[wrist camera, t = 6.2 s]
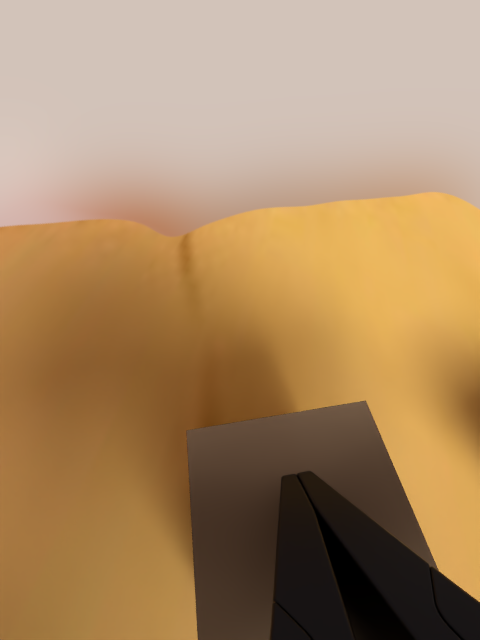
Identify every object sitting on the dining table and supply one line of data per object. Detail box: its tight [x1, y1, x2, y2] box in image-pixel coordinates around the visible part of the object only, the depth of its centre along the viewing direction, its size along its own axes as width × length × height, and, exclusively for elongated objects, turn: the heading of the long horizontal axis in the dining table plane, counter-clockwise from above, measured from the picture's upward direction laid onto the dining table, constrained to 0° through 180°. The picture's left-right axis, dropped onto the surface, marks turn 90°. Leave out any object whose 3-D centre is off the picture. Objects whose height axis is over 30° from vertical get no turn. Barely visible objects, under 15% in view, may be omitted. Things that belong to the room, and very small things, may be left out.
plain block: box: [187, 401, 439, 640], centre depth 11 cm, size 6×6×8 cm
